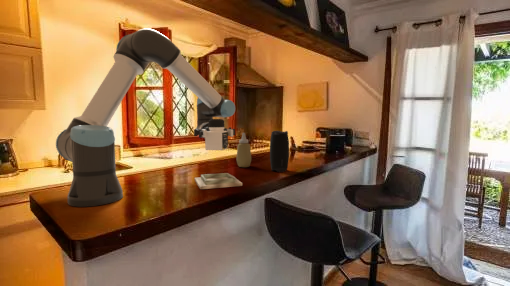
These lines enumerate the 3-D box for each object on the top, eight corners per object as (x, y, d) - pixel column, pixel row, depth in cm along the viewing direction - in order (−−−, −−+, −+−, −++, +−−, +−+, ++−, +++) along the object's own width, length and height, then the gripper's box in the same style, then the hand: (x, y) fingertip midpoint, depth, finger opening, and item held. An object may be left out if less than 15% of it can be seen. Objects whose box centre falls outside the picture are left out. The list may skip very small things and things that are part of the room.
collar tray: (200, 189, 101) (200, 182, 100) (194, 180, 116) (194, 174, 115) (242, 185, 106) (242, 179, 106) (231, 177, 121) (231, 171, 121)
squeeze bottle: (248, 168, 143) (248, 133, 141) (234, 167, 145) (233, 133, 144) (253, 165, 150) (253, 132, 149) (239, 164, 153) (239, 132, 151)
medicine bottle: (222, 150, 105) (222, 118, 104) (205, 150, 107) (204, 119, 106) (228, 148, 112) (227, 118, 111) (211, 148, 114) (211, 118, 113)
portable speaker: (270, 168, 141) (271, 130, 139) (289, 169, 139) (289, 130, 138) (268, 172, 133) (269, 131, 131) (288, 172, 131) (288, 131, 129)
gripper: (232, 138, 130) (246, 142, 109) (183, 139, 122) (189, 144, 101) (232, 122, 129) (246, 123, 108) (183, 122, 122) (189, 123, 101)
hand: (219, 133), depth 105 cm, fingers closed on medicine bottle, 9 cm apart
